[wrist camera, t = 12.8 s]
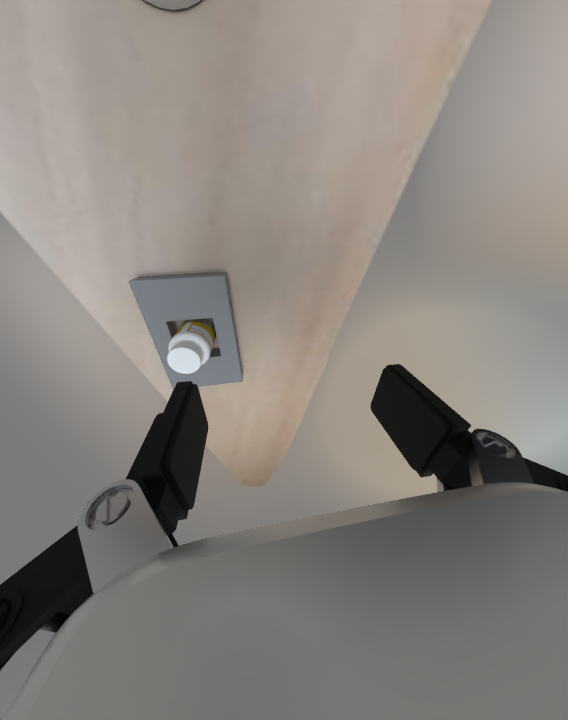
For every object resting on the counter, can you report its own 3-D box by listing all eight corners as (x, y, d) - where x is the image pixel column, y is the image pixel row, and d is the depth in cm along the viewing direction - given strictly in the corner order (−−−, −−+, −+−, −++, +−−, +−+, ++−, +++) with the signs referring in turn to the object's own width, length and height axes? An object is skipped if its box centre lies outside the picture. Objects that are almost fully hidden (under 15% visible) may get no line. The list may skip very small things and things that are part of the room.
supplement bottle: (189, 348, 35) (171, 382, 26) (176, 319, 32) (152, 347, 24) (220, 342, 35) (212, 374, 27) (210, 313, 32) (197, 338, 24)
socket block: (139, 277, 28) (128, 280, 26) (226, 272, 29) (224, 275, 27) (178, 379, 37) (173, 389, 35) (242, 372, 39) (242, 381, 36)
